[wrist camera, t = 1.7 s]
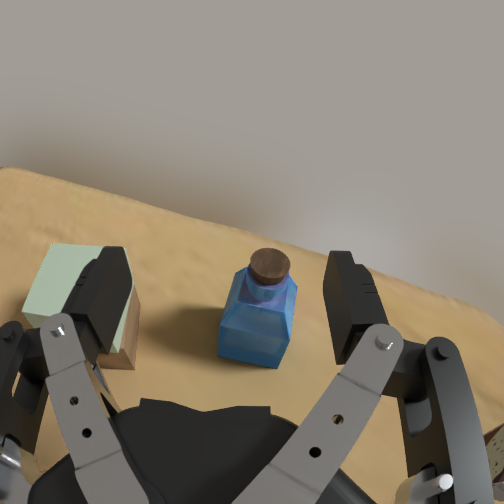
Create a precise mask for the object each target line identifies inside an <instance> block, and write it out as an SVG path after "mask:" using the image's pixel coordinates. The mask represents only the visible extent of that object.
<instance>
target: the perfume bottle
mask: <svg viewBox="0 0 504 504" xmlns="http://www.w3.org/2000/svg"><path fill="white" fill-rule="evenodd" d="M289 269H290V261H289V259H288V257H287V256H286V255H285V254H284V253H283V252H281V251H279V250H277V249H274V248H262V249H259V250H257V251H255V252H254V253H253V254H252V256H251V258H250V264H249V265H248V267H245V268H243V269H242V270H240V271H238V272H236V273H235V276H234V279H233V282H232V286H231V289H230V292H229V295H228V299H227V302H226V305H225V308H224V312H223V315H222V318H221V322H220V325H219V343H218V356H220V357H224V358H228V359H233V360H237V361H241V362H246V363H250V364H255V365H260V366H265V367H269V368H274V369H277V368H278V366H279V364H280V362H281V360H282V357H283V355H284V353H285V351H286V348H287V346H288V344H289V341H290V336H291V329H292V322H293V315H294V308H295V300H296V293H297V285H296V284H295V283H294V281H293V280H292V278H291V277H290V276H289Z"/></svg>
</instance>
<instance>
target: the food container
mask: <svg viewBox="0 0 504 504" xmlns="http://www.w3.org/2000/svg"><path fill="white" fill-rule="evenodd" d="M483 437H484V442H485V447H486V452H487V457H488V462H489V468H490V474H491V481H492V488H493V496H494V499H495V500H498V501H504V423H503V424H501V425H500V426H498V427H496V428H494V429H493V430H491V431H489V432H488V433H486V434H484V435H483Z"/></svg>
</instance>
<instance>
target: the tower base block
mask: <svg viewBox="0 0 504 504" xmlns="http://www.w3.org/2000/svg"><path fill="white" fill-rule="evenodd" d="M139 315H140V302H139V299H138V295H137V292H136V288H135V285H134V286H133V290H132V294H131V298H130V302H129V307H128V311H127V315H126V320H125V324H124V329H123V334H122V338H121V343H120V348H119V353H112V352H109V355H106V354H98V357H97V362H98V364H99V366H100V368H105V369H122V370H135V361H136V347H137V335H138V325H139Z"/></svg>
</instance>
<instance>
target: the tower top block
mask: <svg viewBox="0 0 504 504" xmlns="http://www.w3.org/2000/svg"><path fill="white" fill-rule="evenodd" d="M103 247H105V246H88V245H70V244H53V243H52V245H51V247H50V249H49V251H48V253H47V255H46V257H45V259H44V261H43V263H42V265H41V267H40V269H39V271H38V274H37V276H36V278H35V280H34V282H33V285H32V287H31V289H30V292H29V294H28V296H27V299H26V301H25V304H24V306H23V309H22V311H21V312H22V313H23V315H24V316H25V317H26V319H27V320H28V321H29V323H30V324H31V325H32V327H33V328H39V327H41V326H42V324H43V322H44V321H45V320H46V319H47V318H48V317H50V316H51V315H54V314H57V313H60V312H61V310H62V308H63V306H64V304H65V302H66V300H67V298H68V296H69V294H70V292H71V290H72V288H73V286H75V283H76V281H77V279H78V278H79V275H80V273H81V272H82V270H83V268H84V267H85V266H86V265H87V264H88V263H89V262H90V261H91V260H92V259H97V258H98V256H99V254H100V252H101V250H102V249H103ZM124 251H125V254H126V257H127V261H128V264H129V260H128V256H127V252H126V248H124ZM129 268H130V264H129ZM130 271H131V268H130ZM131 275H132V272H131ZM133 286H134V279H133V276H132V289H131V292H130V295H129V298H128V300H127V303H126V306H125V309H124V311H123V314H122V317H121V320H120V323H119V326H118V329H117V331H116V334H115V337H114V340H113V343H112V346H111V349H110V352H112V353H119V348H120V343H121V338H122V334H123V329H124V324H125V320H126V315H127V311H128V307H129V302H130V298H131V294H132V290H133Z"/></svg>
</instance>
